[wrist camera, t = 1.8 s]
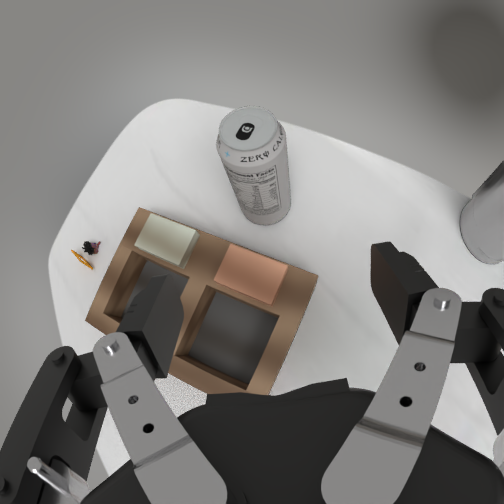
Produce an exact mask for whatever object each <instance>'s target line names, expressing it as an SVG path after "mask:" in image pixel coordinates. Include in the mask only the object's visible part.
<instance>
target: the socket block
mask: <svg viewBox="0 0 504 504" xmlns="http://www.w3.org/2000/svg"><path fill="white" fill-rule="evenodd" d="M166 274H170V275H171V276H172V277H173V280H174V282H175V285H176V288H177V291H178V294H179V297H180V299H181V302H182V305H183V310H184V320H183V323H182V327H181V330H180V333H179V337H178V340H177V343H176V347H175V350H174V354H173V357H172V361H171V364H170V368H169V371H168V373H169V374H171V375H173V376H174V377H176V378H178V379H180V380H182V381H184V382H186V383H187V384H189V385H191V386H193V387H195V388H197V389H199V390H201V391H203V392H205V393H207V394H220V393H236V392H243V393H252V394H260V395H269V392H270V390H271V388H272V386H273V384H274V382H275V379H276V377H277V375H278V373H279V371H280V369H281V366H282V364H283V362H284V360H285V357H286V355H287V353H288V351H289V348H290V346H291V344H292V341H293V339H294V337H295V334H296V332H297V330H298V327H299V325H300V323H301V320H302V318H303V315H304V313H305V311H306V308H307V306H308V303H309V301H310V298H311V296H312V293H313V291H314V288H315V286H316V283H317V279H318V275H315V274H313V273H310V272H307V271H305V270H302V269H300V268H297V267H294V266H292V265H289V264H287V263H284V262H281V261H279V260H276V259H274V258H271V257H268V256H266V255H263V254H260V253H258V252H255V251H253V250H250V249H247V248H245V247H242V246H240V245H237V244H234V243H232V242H229V241H226V240H224V239H221V238H219V237H216V236H213V235H211V234H208V233H205V232H203V231H200V230H198V229H195V228H192V227H190V226H187V225H184V224H182V223H179V222H177V221H174V220H171V219H169V218H166V217H164V216H161V215H158V214H156V213H153V212H150V211H148V210H145V209H142V208H140V207H139V208H138V210H137V212H136V214H135V216H134V218H133V219H132V221H131V223H130V225H129V227H128V229H127V231H126V233H125V235H124V237H123V239H122V241H121V243H120V245H119V247H118V249H117V251H116V253H115V255H114V257H113V259H112V261H111V263H110V265H109V267H108V269H107V272H106V274H105V276H104V278H103V280H102V282H101V285H100V287H99V289H98V291H97V294H96V296H95V298H94V300H93V303H92V305H91V307H90V310H89V312H88V315H87V317H86V320H85V321H86V322H88V323H89V324H91V325H92V326H94V327H95V328H97V329H98V330H99V331H101V332H102V333H104V334H105V335H108V334H110V333H114V332H116V330H117V328H118V326H119V325H120V323H121V321H122V319H123V317H124V315H125V313H127V312H126V311H127V310H128V308H129V307H130V304H131V302H132V300H133V299H134V297H135V296H136V295H137V294H138V293H139V292H140V291H141V290H143V289H146V287H147V285H148V283H149V281H150V279H151V278H152V277H153V276H159V275H166Z"/></svg>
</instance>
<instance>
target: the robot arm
mask: <svg viewBox="0 0 504 504" xmlns="http://www.w3.org/2000/svg"><path fill="white" fill-rule="evenodd" d="M460 228H461V233H462V237H463V239H464V242H465V244H466V246H467V248H468V249H469V250H470V252H471V253H472V254H473V255H474V256H475V257H476V258H477V259H478V260H480V261H482V262H484V263H487V264H497V263H500V262H502V261H503V260H504V161H502V163H501V164H500V165H499V166H498V167H497V168H496V170H495V171H494V172H493V173H492V174H491V175H490V176H489V178H488V179H487V180H486V181H485V182H484V183H483V184H482V185H481V186H480V188H479V189H478V190H477V191H476V192H475V193H474V194H473V195H472V200H471V201H470V202H469V203H468V204H467V205H466V206H465V207H464V209H463V211H462V214H461V219H460ZM371 287H372V291H373V294H374V296H375V298H376V300H377V302H378V304H379V305H380V307H381V309H382V311H383V313H384V315H385V317H386V319H387V322H388V324H389V326H390V328H391V330H392V332H393V334H394V336H395V338H396V340H397V342H398V344H399V347H398V349H397V352H396V354H395V356H394V358H393V360H392V362H391V365H390V367H389V369H388V371H387V373H386V375H385V377H384V379H383V381H382V383H381V385H380V387H379V389H378V391H377V392H373V391H370V390H365V389H359V388H349V385H348V381H347V378H344V379H338V380H333V381H327V382H321V383H315V384H310V385H308V386H305V387H302V388H299V389H296V390H293V391H290V392H287V393H284V394H281V395H278V396H270V395H260V394H252V393H243V392H236V393H220V394H207V399H206V404H205V405H201V406H199V407H196V408H193V409H191V410H189V411H187V412H185V413H184V414H182V415H180V416H179V417H178V418H176V416H175V415H174V413H173V412H172V410H171V409H170V407H169V406H168V404H167V402H166V401H165V399H164V398H163V396H162V395H161V393H160V391H159V390H158V388H157V387H156V385H155V383H154V381H155V378H167V375H168V371H169V368H170V364H171V361H172V357H173V354H174V350H175V347H176V343H177V340H178V337H179V333H180V330H181V327H182V323H183V320H184V310H183V305H182V302H181V299H180V297H179V294H178V291H177V288H176V285H175V282H174V280H173V277H172V276H171V275H170V274H166V275H159V276H153V277H152V278H151V279H150V281H149V283H148V285H147V287H146V289H143V290H141V291H140V292H139V293H138V294H137V295H136V296H135V297H134V299H133V300H132V302H131V304H130V307H129V308H128V310H127V311H126V312H127V313H125V315H124V317H123V319H122V321H121V323H120V325H119V326H118V328H117V330H116V332H114V333H110V334H108V335H106V336H104V337H102V338H101V339H100V340H98V342H97V343H96V344H95V346H94V348H93V352H90V353H86V354H83V355H79V356H77V354H76V353H75V351H74V350H73V348H72V347H69V346H63V347H60V348H57V349H56V350H54V351H53V352H51V353H50V354H49V355H48V357H47V358H46V360H45V361H44V363H43V365H42V367H41V368H40V370H39V372H38V374H37V376H36V378H35V380H34V381H33V383H32V385H31V387H30V389H29V391H28V393H27V395H26V397H25V399H24V401H23V403H22V405H21V407H20V409H19V411H18V413H17V415H16V417H15V419H14V421H13V424H12V425H11V428H10V430H9V432H8V434H7V437H6V439H5V441H4V443H3V446H2V448H1V451H0V504H504V356H503V354H502V353H501V351H500V350H501V348H502V349H503V351H504V290H503V289H500V288H491V289H488V290H486V291H485V292H484V293H483V296H482V300H481V302H462V301H461V298H460V297H459V295H458V294H456V293H455V292H453V291H452V290H449V289H445V288H439V287H438V286H437V285H436V284H435V282H434V281H433V280H432V279H431V277H430V276H429V275H428V274H427V272H426V271H424V269H423V268H422V266H421V265H419V263H418V262H417V260H416V259H415V258H414V257H413V256H411V255H409V254H407V253H406V252H399V251H398V250H397V249H396V248H395V246H394V245H393V244H392V243H391V242H383V243H377V244H372V246H371ZM450 363H465V364H466V366H467V368H468V370H469V372H470V374H471V376H472V378H473V380H474V382H475V384H476V386H477V389H478V391H479V393H480V395H481V397H482V399H483V402H484V404H485V406H486V409H487V411H488V413H489V416H490V418H491V420H492V423H493V425H494V428H495V430H496V433H497V435H498V436H497V438H496V440H495V442H494V445H493V454H494V460H493V461H492V460H490V459H489V458H487V457H486V456H484V455H482V454H481V453H479V452H477V451H475V450H473V449H472V448H470V447H468V446H466V445H465V444H463V443H461V442H459V441H458V440H456V439H454V438H452V437H451V436H449V435H447V434H446V433H444V432H442V431H441V430H439V429H437V428H436V427H434V426H432V425H431V421H432V419H433V416H434V413H435V410H436V407H437V404H438V401H439V398H440V395H441V392H442V389H443V386H444V382H445V379H446V376H447V372H448V368H449V365H450ZM67 397H68V398H69V399H70V401H71V402H72V403H73V404H72V407H71V409H70V412H69V414H68V417H67V419H66V422H65V421H64V420H63V418H62V408H63V406H64V403H65V401H66V399H67ZM107 408H109V410H110V413H111V415H112V418H113V420H114V422H115V425H116V427H117V429H118V432H119V434H120V436H121V438H122V441H123V443H124V445H125V447H126V449H127V451H128V453H129V456H130V458H131V459H130V460H129V461H127V462H126V463H125V464H124V465H123V466H122V467H120V468H119V469H118V470H117V471H116V472H114V473H113V474H112V475H111V476H110V477H108V478H107V479H106V480H105V481H104V482H102V483H101V484H100V485H99V486H97V487H96V488H95V489H94V490H92V491H91V492H90V491H89V486H88V484H87V482H86V481H87V477H88V473H89V470H90V466H91V462H92V458H93V455H94V451H95V448H96V444H97V441H98V437H99V434H100V431H101V427H102V424H103V421H104V417H105V414H106V411H107Z"/></svg>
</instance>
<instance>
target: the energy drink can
mask: <svg viewBox="0 0 504 504" xmlns="http://www.w3.org/2000/svg"><path fill="white" fill-rule="evenodd" d="M217 150H218V153H219V156H220V158H221V160H222V163H223V165H224V168H225V170H226V173H227V175H228V178H229V180H230V183H231V185H232V187H233V190H234V192H235V195H236V197H237V200H238V202H239V205H240V207H241V210H242V212H243V214H244V215H245V217H246V218H247V219H249V220H250V221H251V222H253V223H256V224H259V225H270V224H274V223H276V222H278V221H280V220H281V219H283V218H284V217H285V215H286V214H287V213H288V211H289V209H290V205H291V196H290V182H289V168H288V156H287V144H286V134H285V131H284V128H283V127H282V125H281V124H280V123H279V122H278V121H277V120H276V118H275V116H274V115H273V114H272V113H271V112H270V111H268V110H267V109H265V108H262V107H257V106H246V107H241V108H238V109H236V110H233V111H232V112H230V113H229V114H228V115H226V116H225V117H224V119H223V120H222V122H221V124H220V127H219V134H218V138H217Z"/></svg>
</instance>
